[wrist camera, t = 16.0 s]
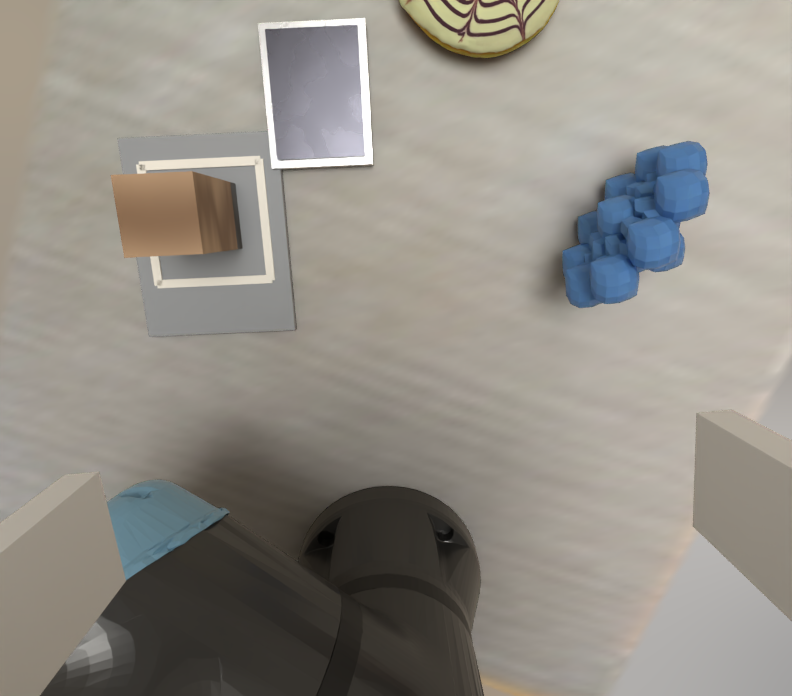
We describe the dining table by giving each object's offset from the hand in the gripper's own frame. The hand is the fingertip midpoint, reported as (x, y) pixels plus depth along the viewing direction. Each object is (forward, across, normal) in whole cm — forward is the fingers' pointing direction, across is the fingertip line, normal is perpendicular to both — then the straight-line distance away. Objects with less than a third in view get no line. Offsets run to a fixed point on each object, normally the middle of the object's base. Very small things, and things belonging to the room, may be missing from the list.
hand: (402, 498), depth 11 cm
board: (+28, +12, -7) cm, 32 cm away
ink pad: (+28, +4, -15) cm, 32 cm away
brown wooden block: (+28, +12, -8) cm, 31 cm away
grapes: (+28, -16, -4) cm, 33 cm away
